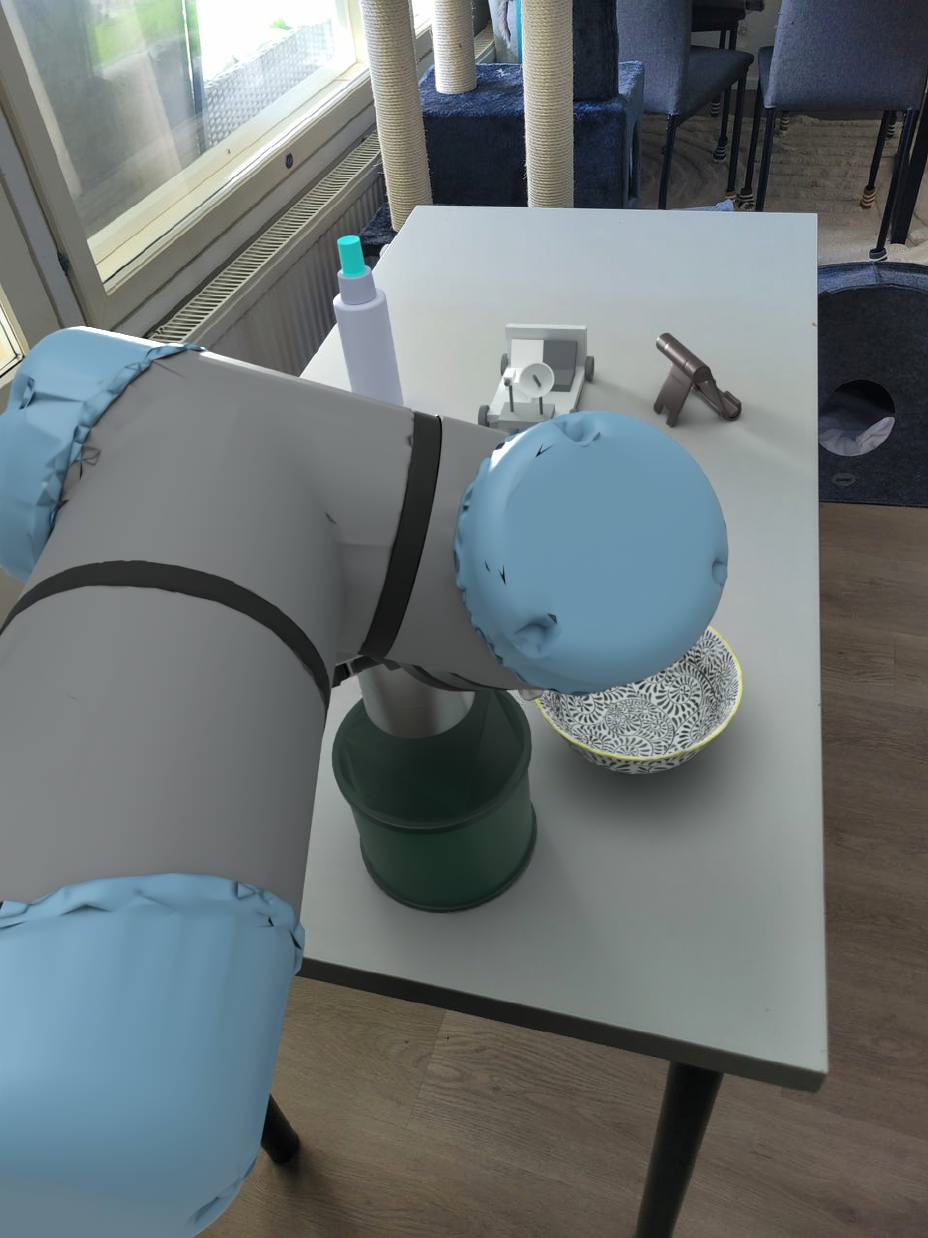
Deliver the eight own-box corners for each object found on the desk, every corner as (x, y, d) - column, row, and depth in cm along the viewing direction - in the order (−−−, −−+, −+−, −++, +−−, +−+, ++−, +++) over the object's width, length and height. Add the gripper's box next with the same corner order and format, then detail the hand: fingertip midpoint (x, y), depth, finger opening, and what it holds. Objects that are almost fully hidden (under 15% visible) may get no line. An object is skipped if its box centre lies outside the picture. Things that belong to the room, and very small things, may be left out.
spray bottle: (407, 401, 117) (379, 226, 102) (402, 427, 113) (371, 249, 98) (361, 403, 118) (326, 230, 103) (353, 429, 114) (316, 253, 99)
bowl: (724, 834, 68) (735, 774, 63) (515, 798, 73) (509, 738, 67) (739, 677, 79) (749, 614, 74) (556, 653, 83) (554, 591, 78)
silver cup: (344, 719, 59) (315, 618, 53) (398, 644, 64) (377, 542, 57) (444, 753, 56) (426, 650, 50) (492, 671, 61) (482, 568, 55)
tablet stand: (741, 419, 107) (749, 353, 101) (680, 437, 106) (685, 371, 100) (702, 385, 113) (708, 320, 107) (644, 401, 112) (647, 337, 106)
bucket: (326, 875, 69) (292, 788, 62) (412, 739, 78) (392, 649, 70) (492, 943, 64) (478, 858, 57) (565, 790, 73) (561, 698, 65)
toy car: (569, 376, 99) (465, 372, 102) (571, 453, 106) (473, 447, 108) (594, 299, 111) (500, 297, 114) (594, 372, 118) (506, 369, 121)
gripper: (277, 779, 36) (268, 746, 58) (713, 603, 41) (550, 634, 63) (209, 598, 36) (226, 635, 58) (653, 443, 41) (512, 531, 63)
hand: (395, 634), depth 61 cm, fingers closed on silver cup, 7 cm apart
